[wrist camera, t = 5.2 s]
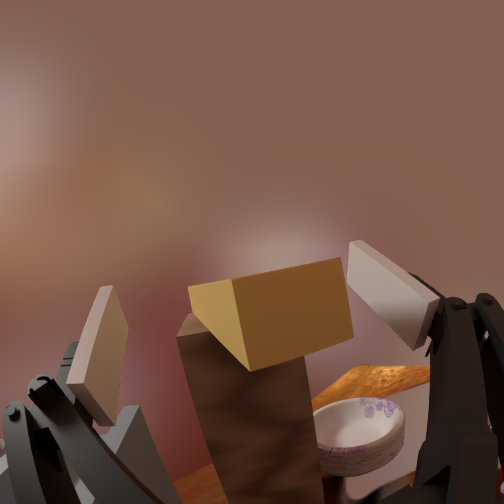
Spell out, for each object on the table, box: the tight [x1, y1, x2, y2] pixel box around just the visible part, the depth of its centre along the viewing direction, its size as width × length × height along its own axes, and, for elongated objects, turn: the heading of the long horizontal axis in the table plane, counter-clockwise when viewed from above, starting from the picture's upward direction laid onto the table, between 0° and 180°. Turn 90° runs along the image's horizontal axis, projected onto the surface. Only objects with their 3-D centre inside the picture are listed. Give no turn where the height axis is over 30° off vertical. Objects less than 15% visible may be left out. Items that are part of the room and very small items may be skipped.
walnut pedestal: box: [176, 313, 325, 504], centre depth 23 cm, size 8×14×28 cm, turn 10°
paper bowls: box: [313, 397, 405, 477], centre depth 32 cm, size 15×15×8 cm
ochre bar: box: [188, 257, 354, 372], centre depth 20 cm, size 4×24×3 cm, turn 16°
